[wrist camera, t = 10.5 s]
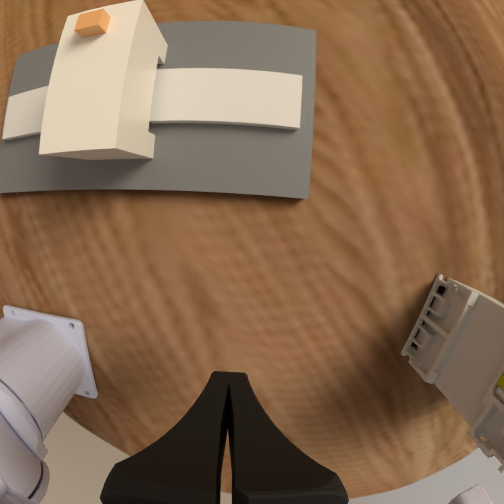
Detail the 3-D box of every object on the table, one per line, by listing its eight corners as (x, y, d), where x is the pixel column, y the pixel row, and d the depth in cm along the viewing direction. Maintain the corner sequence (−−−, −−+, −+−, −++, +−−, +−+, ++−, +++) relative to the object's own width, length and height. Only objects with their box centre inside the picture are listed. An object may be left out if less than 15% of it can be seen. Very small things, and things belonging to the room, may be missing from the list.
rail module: (91, 160, 17) (27, 153, 10) (107, 52, 15) (59, 9, 8) (153, 158, 17) (105, 145, 10) (167, 45, 15) (137, -11, 9)
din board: (5, 192, 18) (-9, 194, 16) (24, 59, 15) (12, 53, 13) (304, 198, 19) (311, 199, 17) (312, 36, 16) (318, 25, 15)
